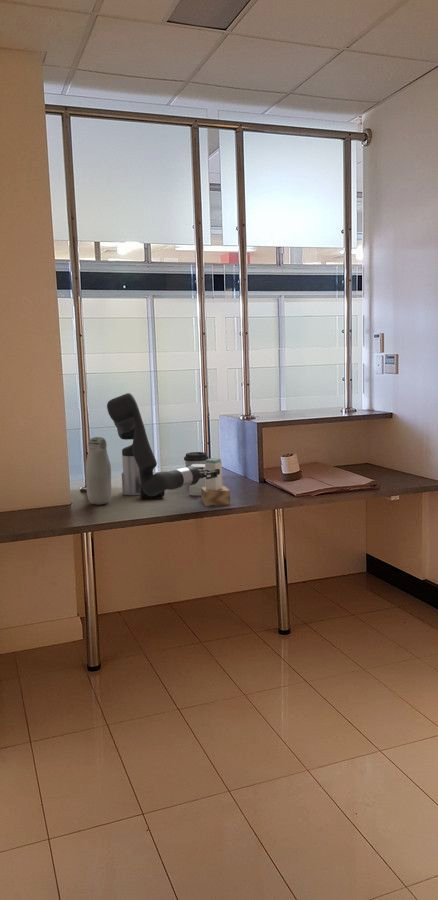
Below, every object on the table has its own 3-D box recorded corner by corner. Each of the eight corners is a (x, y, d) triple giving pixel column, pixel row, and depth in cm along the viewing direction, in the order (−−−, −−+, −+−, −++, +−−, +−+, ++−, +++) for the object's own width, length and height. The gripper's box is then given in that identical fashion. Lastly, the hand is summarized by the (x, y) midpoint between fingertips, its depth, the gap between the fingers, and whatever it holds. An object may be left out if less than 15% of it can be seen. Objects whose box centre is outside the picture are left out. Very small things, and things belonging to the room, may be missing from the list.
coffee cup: (213, 486, 322) (212, 454, 320) (189, 489, 318) (188, 456, 316) (204, 482, 332) (203, 450, 330) (181, 484, 328) (180, 452, 326)
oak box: (206, 506, 284) (205, 492, 284) (201, 501, 294) (201, 487, 293) (230, 505, 287) (230, 490, 286) (224, 499, 296) (224, 485, 295)
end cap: (141, 501, 297) (140, 485, 296) (138, 497, 304) (138, 482, 303) (165, 499, 300) (164, 483, 299) (161, 495, 307) (161, 480, 306)
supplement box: (205, 495, 304) (204, 466, 302) (189, 495, 305) (188, 466, 303) (209, 492, 311) (208, 463, 309) (193, 491, 312) (192, 463, 310)
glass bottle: (84, 507, 289) (80, 438, 284) (92, 501, 299) (88, 435, 294) (108, 507, 287) (104, 438, 283) (115, 501, 297) (111, 435, 293)
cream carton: (215, 490, 286) (214, 460, 284) (205, 489, 289) (205, 459, 287) (222, 488, 290) (221, 458, 288) (212, 487, 293) (211, 458, 291)
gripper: (198, 469, 270) (224, 462, 283) (170, 465, 279) (197, 459, 291) (199, 488, 271) (224, 481, 284) (171, 484, 280) (197, 477, 293)
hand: (210, 470), depth 288 cm, fingers open, 8 cm apart
